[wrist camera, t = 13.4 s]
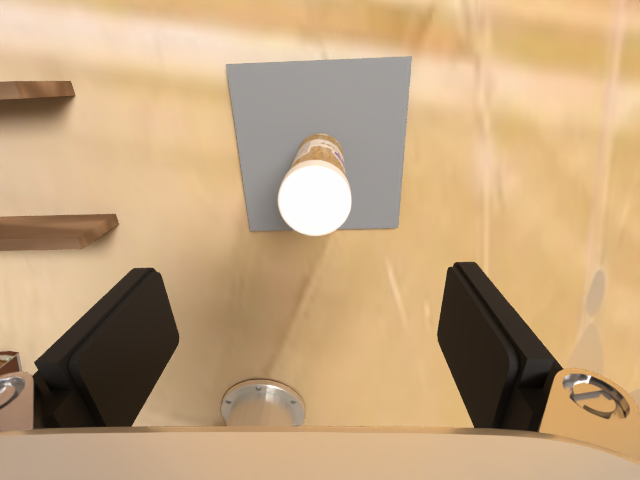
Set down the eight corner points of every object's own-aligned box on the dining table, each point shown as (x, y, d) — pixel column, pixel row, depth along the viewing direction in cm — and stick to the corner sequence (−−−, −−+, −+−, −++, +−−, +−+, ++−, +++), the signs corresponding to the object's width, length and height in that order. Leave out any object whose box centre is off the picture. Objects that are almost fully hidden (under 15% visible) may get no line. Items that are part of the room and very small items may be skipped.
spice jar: (353, 155, 31) (368, 204, 19) (320, 188, 33) (315, 251, 21) (319, 121, 30) (312, 149, 18) (286, 156, 31) (260, 205, 19)
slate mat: (396, 224, 35) (398, 228, 35) (252, 227, 36) (250, 231, 35) (409, 57, 28) (411, 56, 27) (229, 64, 29) (226, 64, 28)
